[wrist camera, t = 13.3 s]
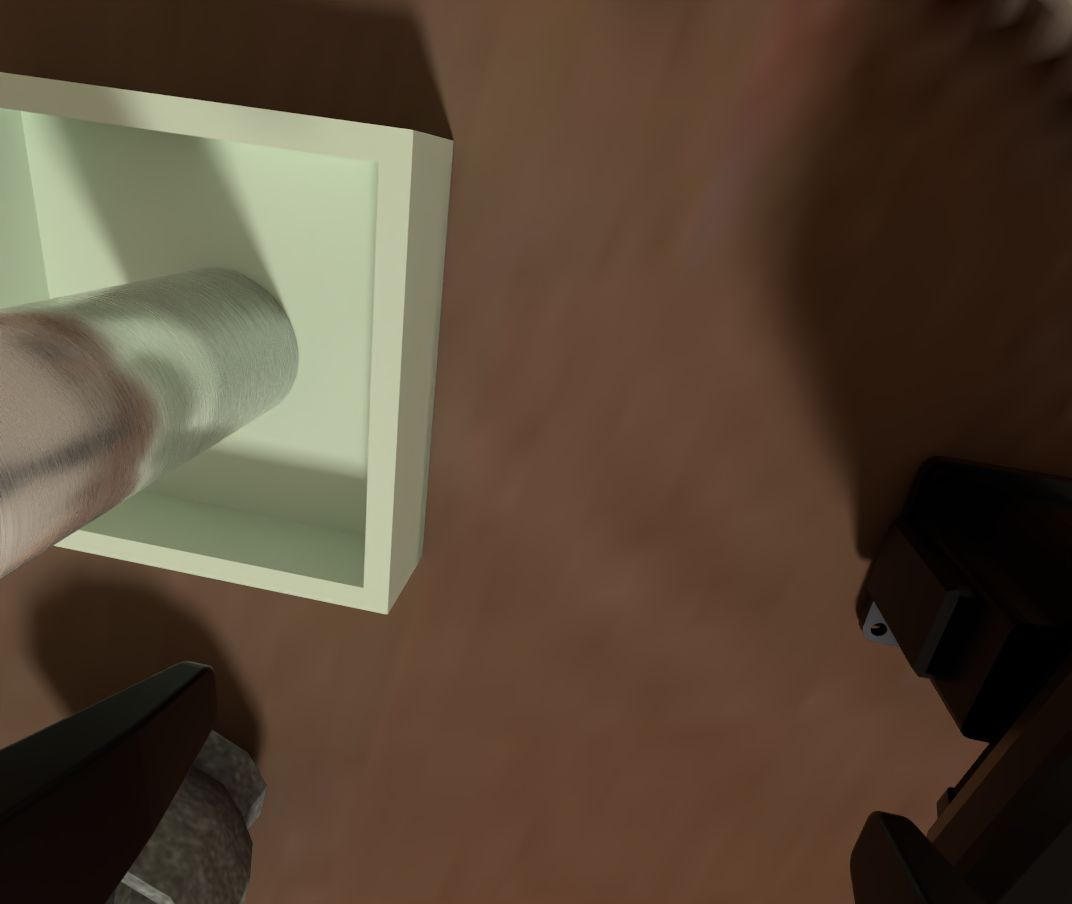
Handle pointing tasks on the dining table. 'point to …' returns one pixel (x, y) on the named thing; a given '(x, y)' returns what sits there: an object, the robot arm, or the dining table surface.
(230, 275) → the cylinder with three balls
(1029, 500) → the robot arm
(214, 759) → the mortar and pestle
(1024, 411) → the dining table surface
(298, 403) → the pale green bin
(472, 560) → the dining table surface
